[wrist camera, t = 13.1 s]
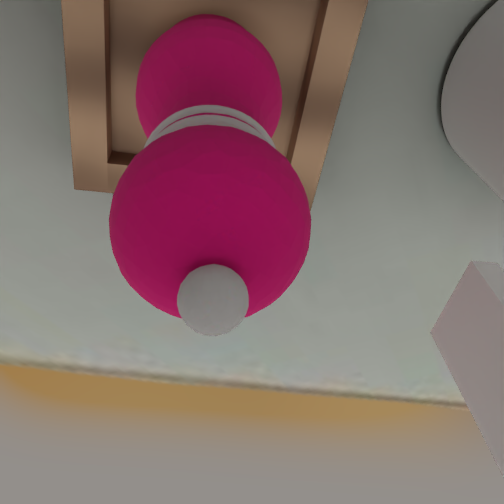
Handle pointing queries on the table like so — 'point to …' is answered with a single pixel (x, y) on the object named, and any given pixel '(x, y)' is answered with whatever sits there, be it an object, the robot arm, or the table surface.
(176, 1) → the walnut holder
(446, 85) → the cylinder vase
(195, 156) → the pepper mill
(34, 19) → the table surface
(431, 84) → the table surface
